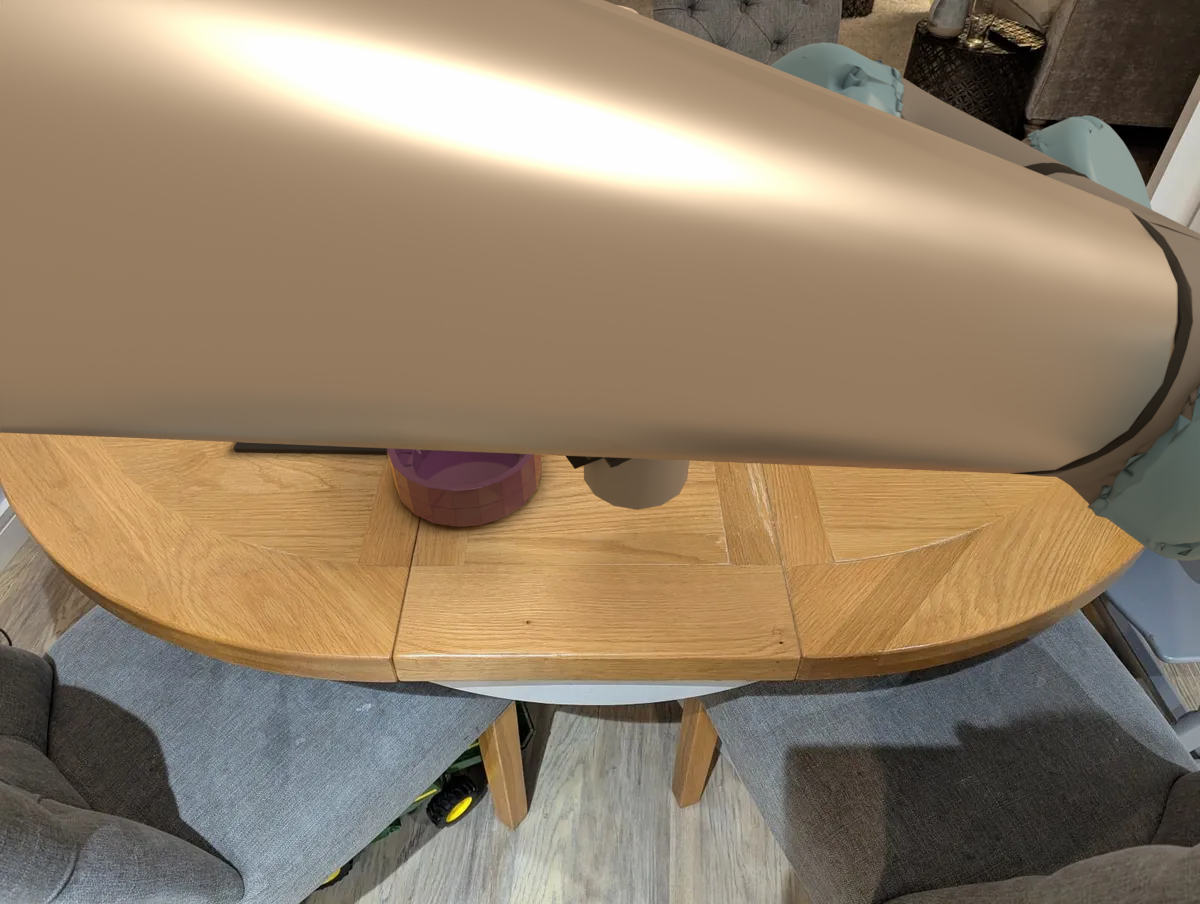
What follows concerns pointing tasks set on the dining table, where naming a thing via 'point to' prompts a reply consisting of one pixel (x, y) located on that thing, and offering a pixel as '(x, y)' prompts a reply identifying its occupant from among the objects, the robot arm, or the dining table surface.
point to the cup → (637, 481)
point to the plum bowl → (463, 484)
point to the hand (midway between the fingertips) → (602, 420)
